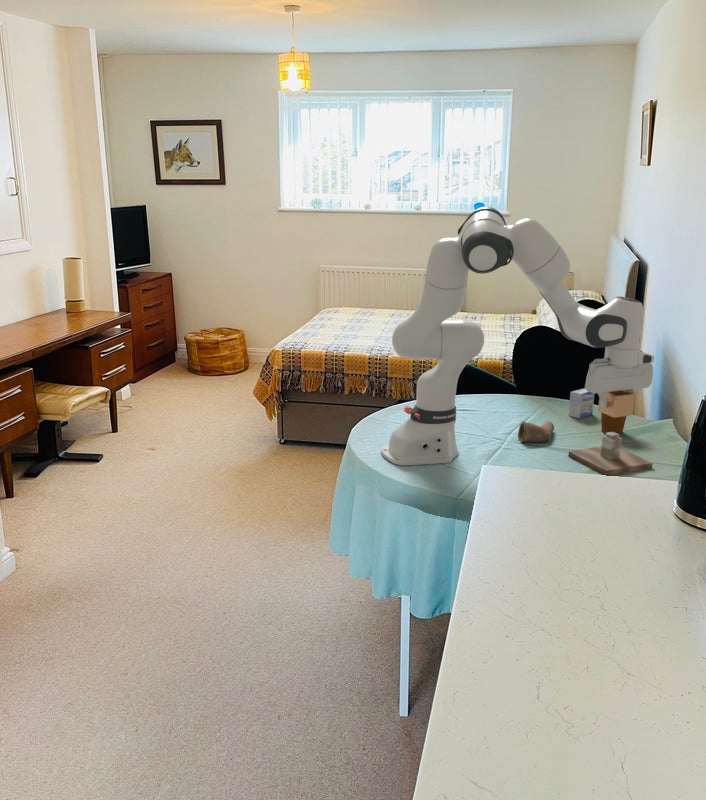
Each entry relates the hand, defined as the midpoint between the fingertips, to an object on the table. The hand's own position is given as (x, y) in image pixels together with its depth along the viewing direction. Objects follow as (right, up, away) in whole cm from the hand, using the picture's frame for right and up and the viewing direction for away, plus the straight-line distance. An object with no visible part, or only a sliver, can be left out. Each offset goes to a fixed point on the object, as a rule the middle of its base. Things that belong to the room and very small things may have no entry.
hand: (616, 405), depth 204 cm
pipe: (-16, -10, +26) cm, 32 cm away
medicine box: (+5, -4, +48) cm, 48 cm away
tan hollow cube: (0, -2, +1) cm, 2 cm away
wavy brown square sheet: (0, -16, +5) cm, 17 cm away
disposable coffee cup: (+10, -9, +31) cm, 34 cm away
